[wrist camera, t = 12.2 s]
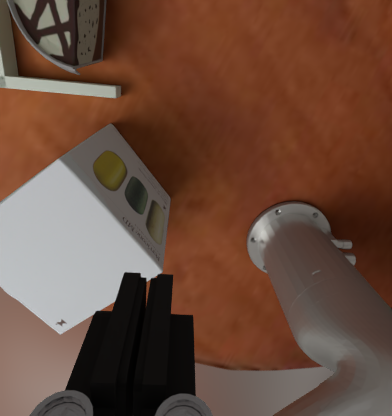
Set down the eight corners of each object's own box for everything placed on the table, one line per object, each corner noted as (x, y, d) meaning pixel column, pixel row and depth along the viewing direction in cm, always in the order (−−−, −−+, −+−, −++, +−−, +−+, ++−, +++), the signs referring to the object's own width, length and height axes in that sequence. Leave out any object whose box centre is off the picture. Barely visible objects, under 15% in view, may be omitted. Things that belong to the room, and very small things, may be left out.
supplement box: (174, 199, 42) (166, 274, 26) (104, 245, 45) (59, 338, 29) (111, 120, 38) (57, 154, 22) (38, 177, 40) (-58, 244, 25)
